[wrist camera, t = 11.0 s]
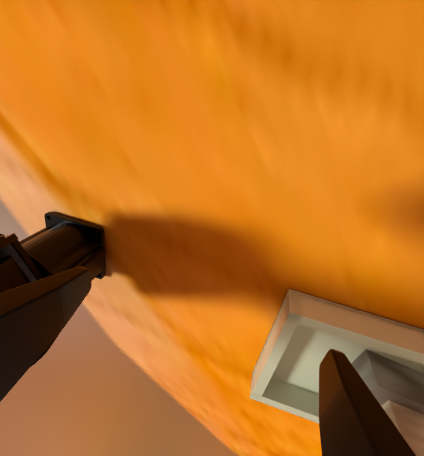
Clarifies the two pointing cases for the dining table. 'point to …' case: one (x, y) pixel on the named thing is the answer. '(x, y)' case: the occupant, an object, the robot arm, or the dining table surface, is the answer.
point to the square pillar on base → (396, 394)
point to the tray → (323, 349)
